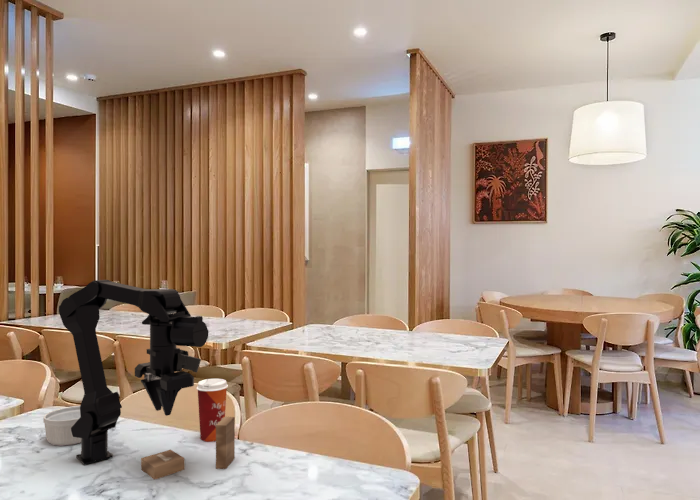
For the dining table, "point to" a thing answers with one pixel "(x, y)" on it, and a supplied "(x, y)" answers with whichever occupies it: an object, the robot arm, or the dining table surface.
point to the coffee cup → (211, 406)
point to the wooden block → (225, 442)
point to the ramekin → (61, 425)
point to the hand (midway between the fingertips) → (163, 412)
